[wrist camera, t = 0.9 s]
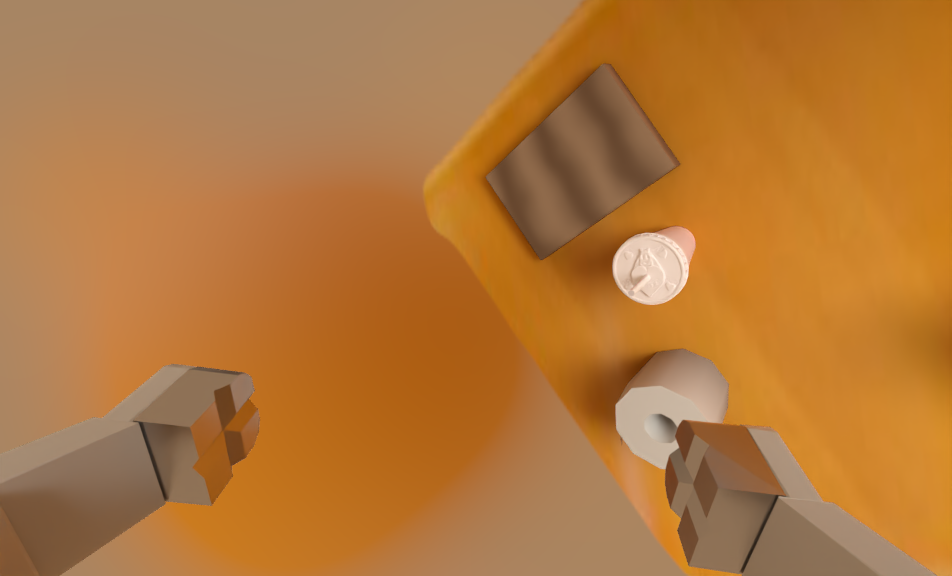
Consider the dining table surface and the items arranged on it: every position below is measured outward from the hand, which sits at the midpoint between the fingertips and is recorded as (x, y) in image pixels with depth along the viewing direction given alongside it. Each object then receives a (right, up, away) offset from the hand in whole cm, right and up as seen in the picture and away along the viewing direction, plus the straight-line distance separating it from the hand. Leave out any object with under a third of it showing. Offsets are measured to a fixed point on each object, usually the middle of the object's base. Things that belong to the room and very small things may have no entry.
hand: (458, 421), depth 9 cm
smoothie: (+21, +7, +40) cm, 46 cm away
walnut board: (+11, +16, +43) cm, 48 cm away
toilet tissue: (+23, -9, +45) cm, 52 cm away
